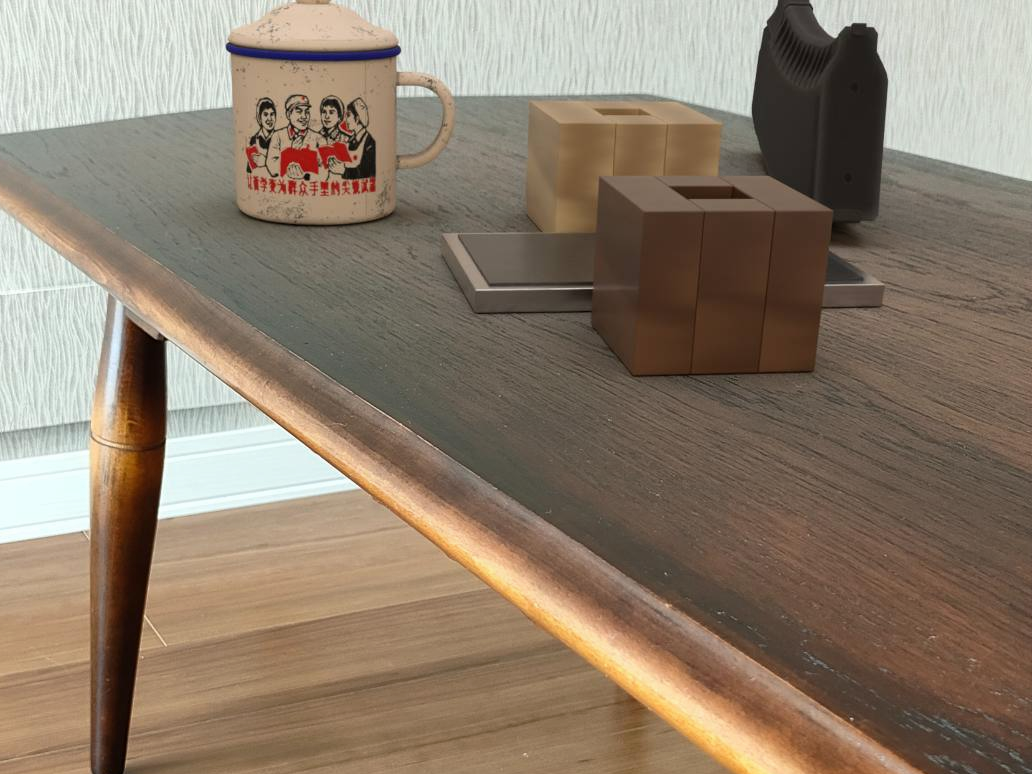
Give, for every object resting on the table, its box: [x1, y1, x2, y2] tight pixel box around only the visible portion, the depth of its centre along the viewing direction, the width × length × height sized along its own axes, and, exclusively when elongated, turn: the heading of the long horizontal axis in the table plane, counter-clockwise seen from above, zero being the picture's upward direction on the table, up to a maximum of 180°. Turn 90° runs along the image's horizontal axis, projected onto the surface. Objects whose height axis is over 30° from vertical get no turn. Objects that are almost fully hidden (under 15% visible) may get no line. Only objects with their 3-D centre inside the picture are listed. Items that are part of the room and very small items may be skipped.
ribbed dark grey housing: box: [750, 0, 889, 224], centre depth 85 cm, size 17×3×30 cm
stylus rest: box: [590, 175, 833, 376], centre depth 55 cm, size 7×7×6 cm
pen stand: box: [524, 100, 723, 233], centre depth 76 cm, size 8×8×6 cm
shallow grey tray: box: [440, 232, 886, 314], centre depth 66 cm, size 18×11×1 cm, turn 99°
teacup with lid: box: [225, 0, 457, 226], centre depth 77 cm, size 12×9×12 cm
